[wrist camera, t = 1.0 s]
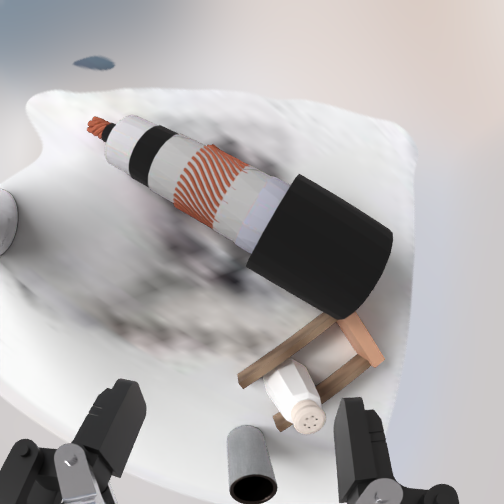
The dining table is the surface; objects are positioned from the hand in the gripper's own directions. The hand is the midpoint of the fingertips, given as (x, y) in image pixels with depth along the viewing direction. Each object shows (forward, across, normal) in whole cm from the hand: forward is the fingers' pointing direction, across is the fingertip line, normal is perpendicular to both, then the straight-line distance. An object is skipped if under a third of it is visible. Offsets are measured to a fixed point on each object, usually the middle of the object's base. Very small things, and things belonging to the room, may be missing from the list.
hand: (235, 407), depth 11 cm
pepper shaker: (+18, -3, +17) cm, 25 cm away
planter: (+13, +2, +24) cm, 28 cm away
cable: (+26, +6, -2) cm, 27 cm away
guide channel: (+19, -5, +16) cm, 25 cm away
